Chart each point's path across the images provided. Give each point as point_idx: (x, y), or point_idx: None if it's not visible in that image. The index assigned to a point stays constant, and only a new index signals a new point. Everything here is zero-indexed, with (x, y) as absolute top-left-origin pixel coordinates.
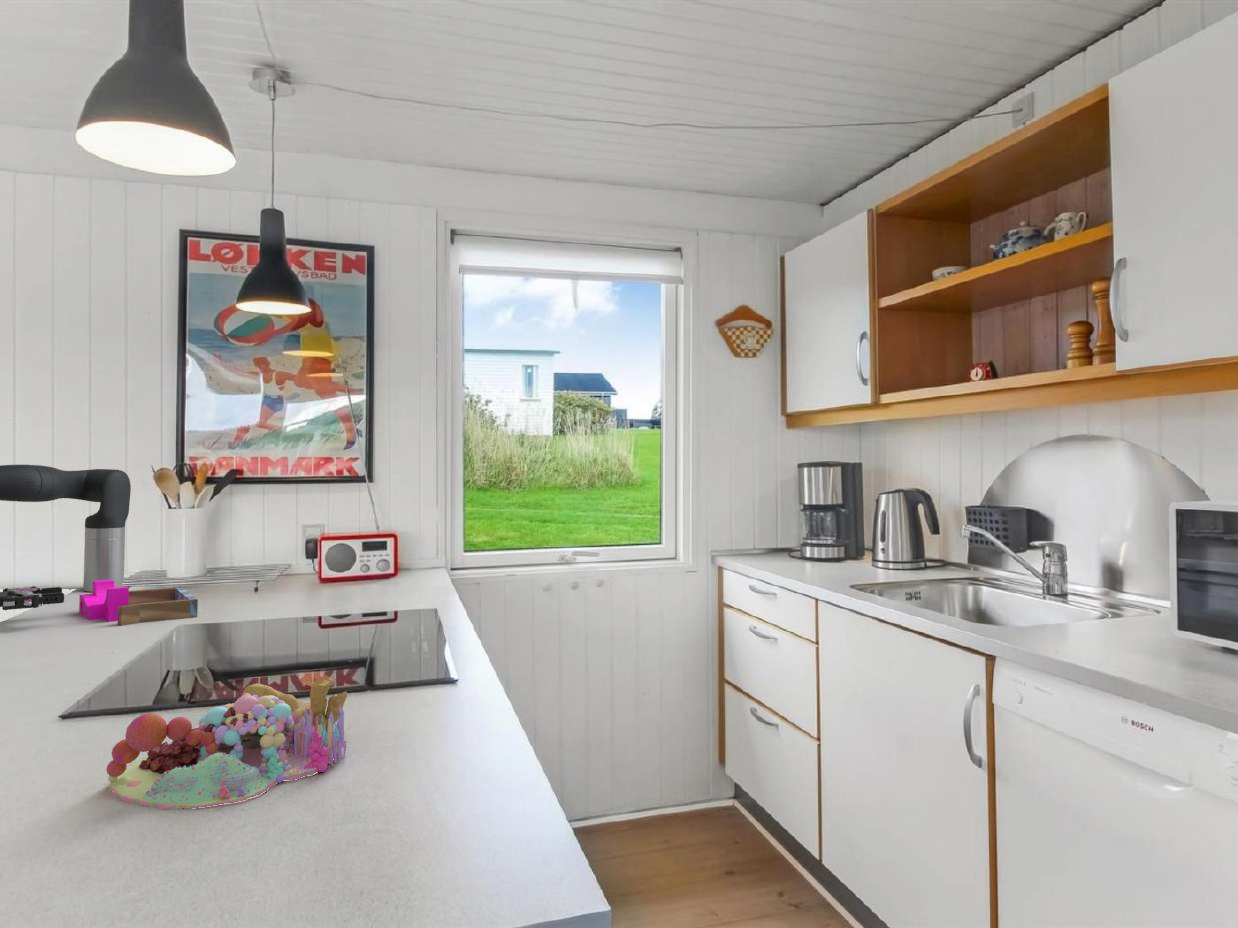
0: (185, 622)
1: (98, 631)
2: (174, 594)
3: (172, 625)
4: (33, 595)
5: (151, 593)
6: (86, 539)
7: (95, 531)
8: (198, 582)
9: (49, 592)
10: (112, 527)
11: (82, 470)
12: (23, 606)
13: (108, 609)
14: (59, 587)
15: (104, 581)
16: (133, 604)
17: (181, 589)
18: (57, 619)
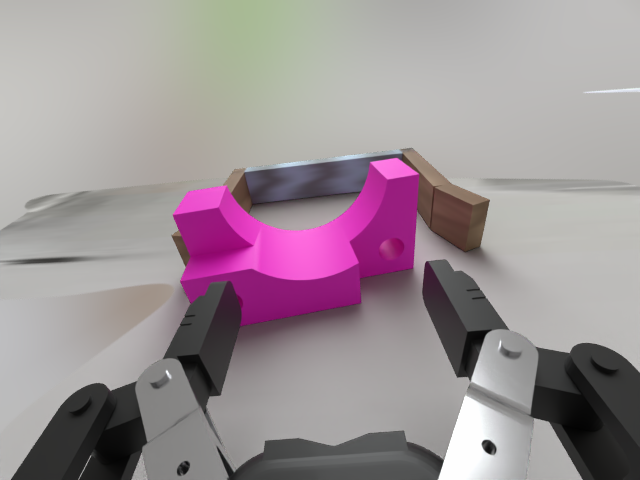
0: (464, 186)
1: (575, 277)
2: (247, 185)
3: (495, 194)
4: (532, 383)
5: (236, 196)
6: None
7: None
8: (60, 198)
9: (220, 337)
10: None
11: None
12: None
13: (412, 237)
14: (226, 284)
15: (217, 196)
16: (444, 190)
17: (266, 167)
18: (289, 390)
